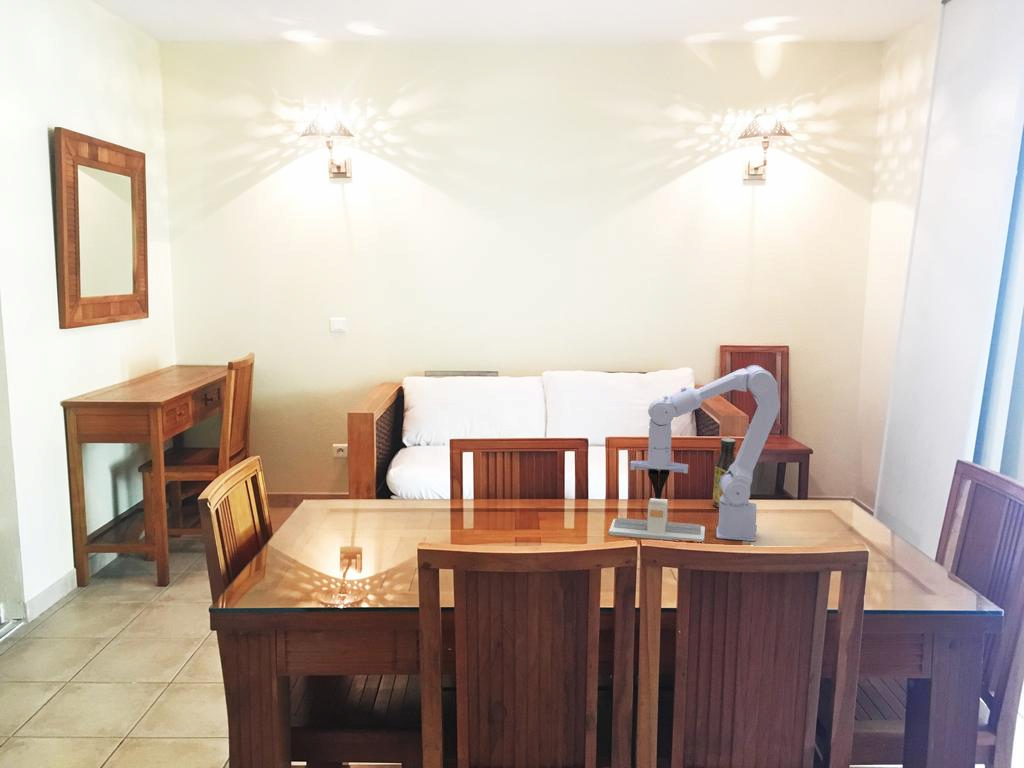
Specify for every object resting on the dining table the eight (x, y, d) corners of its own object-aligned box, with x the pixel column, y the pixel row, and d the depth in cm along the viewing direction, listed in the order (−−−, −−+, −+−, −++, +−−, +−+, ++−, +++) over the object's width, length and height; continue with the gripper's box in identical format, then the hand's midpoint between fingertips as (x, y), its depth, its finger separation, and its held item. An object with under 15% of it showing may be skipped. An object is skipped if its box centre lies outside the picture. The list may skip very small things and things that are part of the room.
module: (666, 524, 210) (667, 499, 209) (664, 533, 203) (665, 507, 202) (649, 523, 211) (650, 498, 210) (647, 532, 204) (647, 506, 203)
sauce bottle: (708, 504, 231) (710, 437, 227) (725, 501, 233) (728, 435, 230) (722, 511, 225) (725, 442, 222) (740, 508, 227) (743, 440, 224)
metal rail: (700, 530, 206) (700, 524, 206) (700, 534, 203) (700, 529, 203) (615, 523, 212) (616, 517, 211) (614, 527, 208) (614, 521, 208)
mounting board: (704, 530, 209) (704, 526, 209) (703, 543, 200) (704, 539, 199) (613, 522, 215) (613, 518, 215) (608, 534, 206) (608, 531, 205)
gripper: (689, 444, 206) (687, 495, 208) (632, 441, 209) (631, 491, 211) (688, 451, 199) (686, 503, 201) (630, 447, 203) (628, 499, 205)
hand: (658, 497), depth 206 cm, fingers closed
